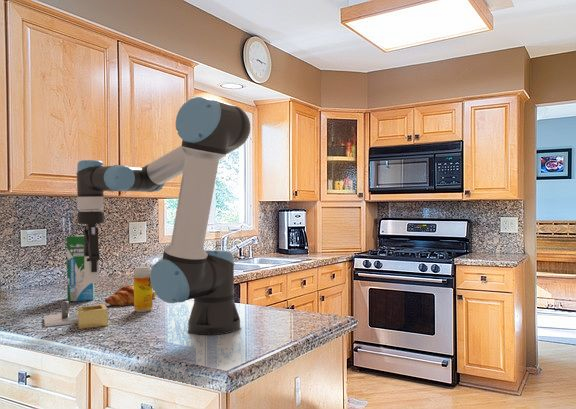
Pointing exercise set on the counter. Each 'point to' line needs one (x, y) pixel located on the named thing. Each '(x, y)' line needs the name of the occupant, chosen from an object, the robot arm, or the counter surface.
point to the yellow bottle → (142, 289)
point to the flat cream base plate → (61, 316)
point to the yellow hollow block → (92, 316)
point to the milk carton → (77, 271)
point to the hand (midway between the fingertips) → (91, 279)
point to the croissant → (123, 296)
